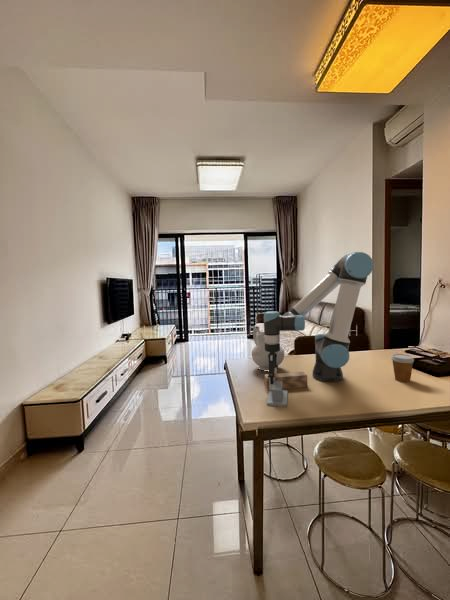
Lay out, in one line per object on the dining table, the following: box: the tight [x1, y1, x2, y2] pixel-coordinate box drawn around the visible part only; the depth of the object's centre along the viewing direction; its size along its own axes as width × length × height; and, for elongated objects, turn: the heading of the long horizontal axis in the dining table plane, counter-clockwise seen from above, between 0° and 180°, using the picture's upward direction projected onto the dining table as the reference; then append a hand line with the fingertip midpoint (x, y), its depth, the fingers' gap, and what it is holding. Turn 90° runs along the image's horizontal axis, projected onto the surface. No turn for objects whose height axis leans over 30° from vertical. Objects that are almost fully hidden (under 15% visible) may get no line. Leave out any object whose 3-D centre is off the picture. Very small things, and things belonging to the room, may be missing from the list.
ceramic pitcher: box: [251, 325, 285, 371], centre depth 159 cm, size 22×20×25 cm
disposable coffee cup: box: [391, 353, 415, 383], centre depth 133 cm, size 10×10×12 cm
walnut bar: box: [264, 371, 308, 390], centre depth 132 cm, size 20×5×6 cm, turn 94°
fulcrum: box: [266, 381, 288, 408], centre depth 118 cm, size 8×14×6 cm, turn 165°
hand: (273, 385), depth 133 cm, fingers open, 12 cm apart
